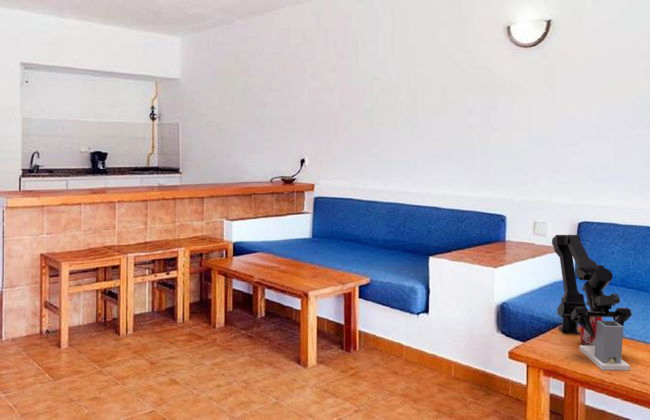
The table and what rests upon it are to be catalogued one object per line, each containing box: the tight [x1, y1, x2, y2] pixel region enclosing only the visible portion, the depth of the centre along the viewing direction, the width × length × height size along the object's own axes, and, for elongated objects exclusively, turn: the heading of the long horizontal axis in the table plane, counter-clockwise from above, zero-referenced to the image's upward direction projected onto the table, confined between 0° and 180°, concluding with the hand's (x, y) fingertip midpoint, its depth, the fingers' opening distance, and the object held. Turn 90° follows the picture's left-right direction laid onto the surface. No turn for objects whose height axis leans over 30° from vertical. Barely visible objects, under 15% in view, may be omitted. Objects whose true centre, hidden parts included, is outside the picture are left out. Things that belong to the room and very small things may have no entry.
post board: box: [578, 344, 631, 371], centre depth 196 cm, size 18×9×5 cm, turn 178°
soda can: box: [579, 309, 603, 346], centre depth 210 cm, size 7×7×12 cm
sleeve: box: [595, 320, 625, 363], centre depth 191 cm, size 6×6×12 cm
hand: (607, 337), depth 192 cm, fingers open, 9 cm apart
